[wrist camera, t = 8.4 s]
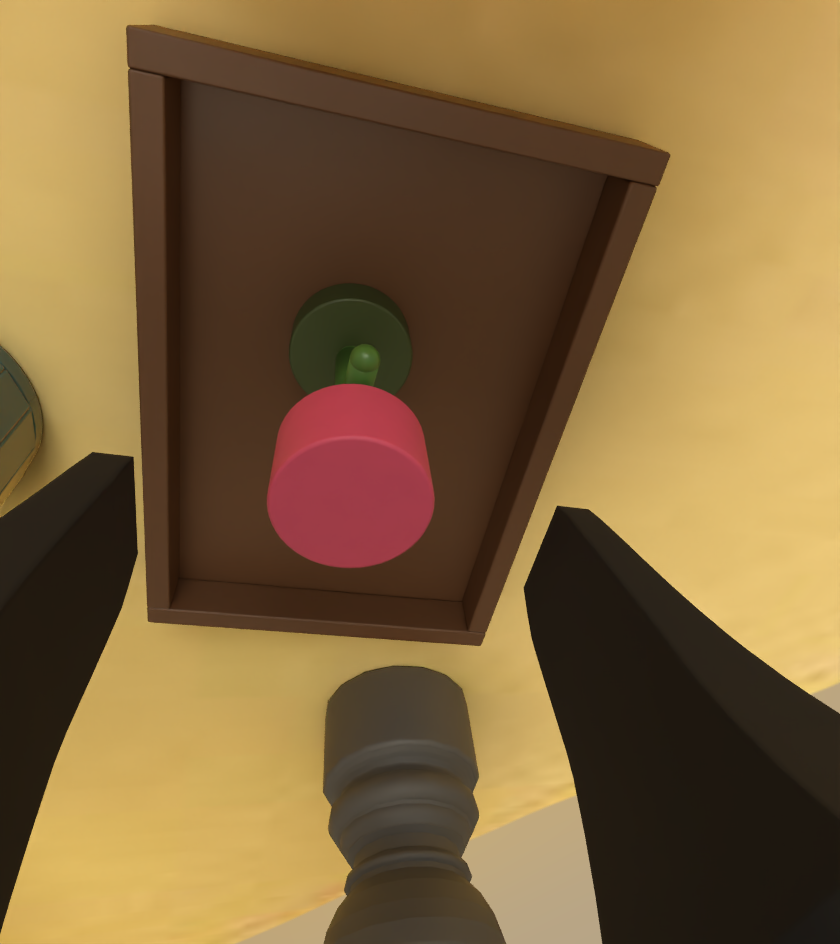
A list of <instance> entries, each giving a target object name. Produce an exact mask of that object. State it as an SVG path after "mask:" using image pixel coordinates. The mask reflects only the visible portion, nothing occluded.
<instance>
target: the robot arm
mask: <svg viewBox="0 0 840 944" xmlns="http://www.w3.org/2000/svg"><path fill="white" fill-rule="evenodd" d="M137 554H138V550H137V527H136V504H135V481H134V458H133V457H130V456H121V455H113V454H104V453H95V452H92V453H91V454H89V455H88V456H86V457H85V458H84V459H82V460H81V461H79V462H78V463H76V464H75V465H74V466H72V467H71V468H69V469H68V470H67V471H65V472H64V473H63V474H61V475H60V476H58V477H57V478H56V479H54V480H53V481H52V482H50V483H49V484H48V485H46V486H45V487H43V488H42V489H41V490H39V491H38V492H37V493H35V494H34V495H32V496H31V497H30V498H28V499H27V500H26V501H24V502H23V503H21V504H20V505H18V506H17V507H15V508H14V509H13V510H11V511H10V512H8V513H7V514H5V515H4V516H3V517H1V518H0V932H1V929H2V926H3V922H4V919H5V915H6V912H7V909H8V905H9V902H10V899H11V895H12V892H13V889H14V886H15V883H16V879H17V876H18V873H19V870H20V867H21V863H22V860H23V857H24V854H25V851H26V848H27V844H28V841H29V838H30V835H31V832H32V828H33V825H34V822H35V819H36V816H37V813H38V810H39V807H40V804H41V801H42V798H43V795H44V792H45V789H46V786H47V783H48V780H49V777H50V774H51V771H52V768H53V765H54V762H55V760H56V757H57V755H58V752H59V750H60V747H61V745H62V742H63V739H64V737H65V734H66V732H67V730H68V728H69V725H70V723H71V721H72V719H73V716H74V714H75V712H76V710H77V708H78V705H79V703H80V701H81V699H82V696H83V694H84V692H85V690H86V687H87V685H88V683H89V681H90V679H91V676H92V674H93V672H94V670H95V667H96V665H97V663H98V661H99V658H100V656H101V654H102V652H103V650H104V647H105V645H106V643H107V640H108V638H109V636H110V634H111V631H112V629H113V627H114V625H115V622H116V620H117V618H118V615H119V613H120V611H121V608H122V605H123V602H124V599H125V595H126V592H127V589H128V586H129V582H130V579H131V575H132V572H133V568H134V565H135V561H136V558H137ZM524 593H525V600H526V607H527V614H528V620H529V625H530V631H531V637H532V641H533V644H534V648H535V651H536V654H537V658H538V661H539V664H540V668H541V671H542V674H543V678H544V681H545V684H546V687H547V691H548V694H549V697H550V700H551V703H552V707H553V710H554V713H555V716H556V720H557V723H558V726H559V729H560V732H561V736H562V739H563V742H564V745H565V748H566V752H567V755H568V759H569V763H570V767H571V771H572V774H573V778H574V783H575V788H576V793H577V798H578V803H579V808H580V813H581V818H582V823H583V828H584V833H585V838H586V844H587V850H588V855H589V861H590V867H591V873H592V878H593V884H594V890H595V896H596V903H597V909H598V917H599V924H600V930H601V937H602V944H840V714H839V713H838V712H836V711H835V710H833V709H832V708H830V707H829V706H827V705H825V704H824V703H822V702H821V701H819V700H818V699H816V698H815V697H813V696H811V695H810V694H808V693H807V692H805V691H804V690H802V689H801V688H800V687H798V686H797V685H795V684H794V683H792V682H791V681H789V680H788V679H786V678H785V677H784V676H782V675H781V674H780V673H778V672H777V671H775V670H774V669H773V668H771V667H770V666H769V665H767V664H766V663H765V662H763V661H762V660H761V659H759V658H758V657H757V656H755V655H754V654H752V653H751V652H750V651H748V650H747V649H746V648H744V647H743V646H742V645H741V644H739V643H738V642H737V641H736V640H734V639H733V638H732V637H731V636H729V635H728V634H727V633H726V632H724V631H723V630H722V629H721V628H720V627H718V626H717V625H716V624H715V623H714V622H713V621H711V620H710V619H709V618H708V617H707V616H705V615H704V614H703V613H702V612H701V611H699V610H698V609H697V608H696V607H695V606H694V605H693V604H691V603H690V602H689V601H688V600H687V599H686V598H685V597H684V596H682V595H681V594H680V593H679V592H678V591H677V590H676V589H675V588H674V587H672V586H671V585H670V584H669V583H668V582H667V581H666V580H665V579H664V578H663V577H662V576H661V575H659V574H658V573H657V572H656V571H655V570H654V569H653V568H652V567H651V566H650V565H649V564H648V563H647V562H646V561H645V560H644V559H642V558H641V557H640V556H639V555H638V554H637V553H636V552H635V551H634V550H633V549H632V548H631V547H630V546H629V545H628V544H627V543H626V542H625V541H624V540H622V539H621V538H620V537H619V536H618V535H617V534H616V533H615V532H614V531H613V530H612V529H611V528H610V527H609V526H607V525H606V524H605V523H604V522H603V521H602V520H601V519H600V518H598V517H597V516H596V515H595V514H594V513H592V512H591V511H590V510H589V509H580V508H571V507H563V506H557V508H556V510H555V512H554V515H553V517H552V520H551V522H550V525H549V527H548V530H547V532H546V535H545V537H544V539H543V542H542V544H541V547H540V549H539V552H538V554H537V557H536V559H535V561H534V564H533V566H532V569H531V571H530V574H529V576H528V579H527V581H526V584H525V586H524Z"/></svg>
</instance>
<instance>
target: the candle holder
mask: <svg viewBox="0 0 840 944" xmlns="http://www.w3.org/2000/svg"><path fill="white" fill-rule="evenodd" d="M478 778H479V773H478V767H477V761H476V756H475V750H474V744H473V738H472V732H471V726H470V721H469V715H468V709H467V704H466V701H465V698H464V694H463V691H462V689H461V688H460V687H459V686H458V685H457V684H456V683H454V682H453V681H452V680H451V679H450V678H449V677H448V676H446V675H444V674H441V673H438V672H435V671H432V670H429V669H426V668H423V667H403V666H392V667H387V668H382V669H378V670H373V671H369V672H365V673H363V674H361V675H359V676H357V677H355V678H354V679H352V680H350V681H348V682H346V683H344V684H342V685H341V686H340V688H339V689H338V690H337V691H336V692H335V694H334V695H333V696H332V697H331V698H330V700H329V701H328V705H327V712H326V719H325V749H324V778H323V793H324V795H325V796H326V798H327V800H328V801H329V803H330V805H331V806H332V808H331V814H330V819H329V825H328V830H329V834H330V836H331V837H332V839H333V841H334V842H335V844H336V845H337V847H338V848H339V850H340V851H341V853H342V854H343V856H344V857H345V859H346V860H347V862H348V864H349V865H350V866H351V868H352V869H353V870H351V872H350V873H349V874H348V876H347V880H346V884H345V888H344V891H345V893H346V895H347V897H346V898H345V900H344V901H343V902H342V903H341V905H340V906H339V907H338V909H337V911H336V913H335V915H334V917H333V919H332V921H331V924H330V926H329V928H328V930H327V932H326V937H325V941H324V944H506V942H505V940H504V937H503V934H502V932H501V929H500V927H499V924H498V922H497V920H496V917H495V914H494V913H493V911H492V909H491V908H490V906H489V905H488V903H487V902H486V900H485V899H484V897H483V896H482V894H481V893H480V892H479V891H478V890H477V889H476V888H475V887H474V886H473V885H472V884H471V883H470V881H471V878H472V876H471V873H470V870H469V867H468V865H467V863H466V862H465V861H464V860H463V859H462V858H461V857H462V855H463V853H464V851H465V848H466V846H467V844H468V841H469V839H470V837H471V835H472V833H473V831H474V828H475V826H476V824H477V821H478V818H479V811H478V807H477V804H476V801H475V799H474V796H473V791H474V788H475V786H476V783H477V781H478Z"/></svg>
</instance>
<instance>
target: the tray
mask: <svg viewBox="0 0 840 944" xmlns="http://www.w3.org/2000/svg"><path fill="white" fill-rule="evenodd" d="M126 35H127V62H128V67H130V69H129V70H128V86H129V113H130V141H131V169H132V197H133V225H134V253H135V281H136V308H137V336H138V364H139V392H140V420H141V448H142V476H143V503H144V531H145V559H146V587H147V606H148V608H147V610H148V621H149V622H154V623H168V624H182V625H196V626H210V627H224V628H238V629H252V630H265V631H279V632H293V633H307V634H321V635H335V636H349V637H363V638H377V639H391V640H405V641H419V642H433V643H447V644H461V645H475V646H480V645H481V644H482V641H483V639H484V636H485V632H486V631H487V628H488V626H489V623H490V621H491V618H492V615H493V613H494V610H495V608H496V605H497V602H498V600H499V597H500V595H501V592H502V590H503V587H504V584H505V582H506V579H507V577H508V574H509V571H510V569H511V566H512V564H513V561H514V558H515V556H516V553H517V551H518V548H519V545H520V543H521V540H522V538H523V535H524V532H525V530H526V527H527V525H528V522H529V519H530V517H531V514H532V512H533V509H534V506H535V504H536V501H537V499H538V496H539V494H540V491H541V488H542V486H543V483H544V481H545V478H546V475H547V473H548V470H549V468H550V465H551V462H552V460H553V457H554V455H555V452H556V449H557V447H558V444H559V442H560V439H561V436H562V434H563V431H564V429H565V426H566V423H567V421H568V418H569V416H570V413H571V411H572V408H573V405H574V403H575V400H576V398H577V395H578V392H579V390H580V387H581V385H582V382H583V379H584V377H585V374H586V372H587V369H588V366H589V364H590V361H591V359H592V356H593V353H594V351H595V348H596V346H597V343H598V340H599V338H600V335H601V333H602V330H603V327H604V325H605V322H606V320H607V317H608V315H609V312H610V309H611V307H612V304H613V302H614V299H615V296H616V294H617V291H618V289H619V286H620V283H621V281H622V278H623V276H624V273H625V270H626V268H627V265H628V263H629V260H630V257H631V255H632V252H633V250H634V247H635V244H636V242H637V239H638V237H639V234H640V231H641V229H642V226H643V224H644V221H645V219H646V216H647V213H648V211H649V208H650V206H651V203H652V200H653V198H654V195H655V193H656V187H655V186H658V185H659V184H660V181H661V179H662V176H663V173H664V171H665V168H666V166H667V163H668V160H669V158H670V154H669V153H668V152H665V151H663V150H661V149H658V148H656V147H653V146H651V145H648V144H646V143H643V142H641V141H639V140H635V139H631V138H626V137H622V136H618V135H614V134H610V133H605V132H601V131H597V130H593V129H589V128H584V127H580V126H576V125H572V124H568V123H563V122H559V121H555V120H551V119H547V118H542V117H538V116H534V115H530V114H526V113H521V112H517V111H513V110H509V109H505V108H500V107H496V106H492V105H488V104H484V103H480V102H475V101H471V100H467V99H463V98H459V97H454V96H450V95H446V94H442V93H438V92H433V91H429V90H425V89H421V88H417V87H412V86H408V85H404V84H400V83H396V82H391V81H387V80H383V79H379V78H375V77H370V76H366V75H362V74H358V73H354V72H349V71H345V70H341V69H337V68H333V67H328V66H324V65H320V64H316V63H312V62H307V61H303V60H299V59H295V58H291V57H286V56H282V55H278V54H274V53H270V52H265V51H261V50H257V49H253V48H249V47H244V46H240V45H236V44H232V43H228V42H223V41H219V40H215V39H211V38H207V37H202V36H198V35H194V34H190V33H186V32H181V31H177V30H173V29H169V28H165V27H160V26H156V25H129V26H127V27H126ZM343 283H354V284H362V285H366V286H369V287H372V288H375V289H377V290H379V291H380V292H382V293H384V294H385V295H387V296H388V297H389V298H390V299H391V300H393V301H394V302H395V303H396V305H397V306H398V307H399V308H400V310H401V312H402V313H403V315H404V317H405V319H406V322H407V325H408V329H409V334H410V339H411V344H412V351H413V359H412V366H411V370H410V373H409V375H408V378H407V380H406V382H405V383H404V385H403V386H402V387H401V389H400V390H399V391H398V392H397V393H396V394H395V395H394V396H395V397H397V398H398V399H400V400H401V401H402V402H403V403H404V404H406V405H407V406H408V407H409V408H410V410H411V411H412V412H413V413H414V415H415V416H416V418H417V419H418V421H419V423H420V425H421V427H422V431H423V434H424V439H425V444H426V450H427V456H428V461H429V467H430V472H431V478H432V484H433V489H434V497H435V501H434V510H433V515H432V518H431V521H430V523H429V525H428V527H427V529H426V531H425V532H424V534H423V535H422V536H421V538H420V539H419V540H418V541H417V542H416V543H415V544H414V545H413V546H412V547H411V548H409V549H408V550H407V551H406V552H404V553H402V554H401V555H399V556H398V557H395V558H393V559H391V560H389V561H386V562H384V563H381V564H377V565H373V566H369V567H362V568H338V567H331V566H327V565H323V564H319V563H316V562H314V561H311V560H309V559H307V558H305V557H303V556H301V555H300V554H298V553H296V552H295V551H294V550H292V549H291V548H290V547H289V546H287V545H286V544H285V542H284V541H283V540H282V539H281V538H280V537H279V535H278V534H277V532H276V531H275V529H274V527H273V525H272V523H271V521H270V518H269V515H268V510H267V493H268V487H269V481H270V476H271V470H272V464H273V459H274V453H275V447H276V442H277V436H278V431H279V429H280V426H281V423H282V422H283V420H284V418H285V416H286V415H287V414H288V412H289V411H290V410H291V409H292V408H293V406H294V405H295V404H296V403H298V402H299V401H300V400H302V399H303V398H304V397H306V396H308V394H307V393H306V392H305V391H304V390H303V389H302V388H301V386H300V385H299V384H298V382H297V381H296V379H295V377H294V375H293V372H292V370H291V366H290V362H289V344H290V339H291V334H292V328H293V324H294V321H295V318H296V316H297V314H298V312H299V310H300V308H301V307H302V306H303V304H304V303H305V302H306V301H307V300H308V299H309V298H310V297H311V296H313V295H314V294H315V293H317V292H319V291H320V290H322V289H324V288H327V287H329V286H333V285H337V284H343Z"/></svg>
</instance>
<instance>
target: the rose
mask: <svg viewBox="0 0 840 944" xmlns="http://www.w3.org/2000/svg"><path fill="white" fill-rule="evenodd" d="M412 359H413V351H412V344H411V339H410V334H409V329H408V325H407V322H406V319H405V317H404V315H403V313H402V312H401V310H400V308H399V307H398V306H397V305H396V303H395V302H394V301H393V300H391V299H390V298H389V297H388V296H387V295H385V294H384V293H382V292H380V291H379V290H377V289H375V288H372V287H369V286H366V285H362V284H354V283H343V284H337V285H333V286H329V287H327V288H324V289H322V290H320V291H319V292H317V293H315V294H314V295H313V296H311V297H310V298H309V299H308V300H307V301H306V302H305V303H304V304H303V306H302V307H301V308H300V310H299V312H298V314H297V316H296V318H295V321H294V324H293V328H292V334H291V339H290V344H289V362H290V366H291V370H292V372H293V375H294V377H295V379H296V381H297V382H298V384H299V385H300V386H301V388H302V389H303V390H304V391H305V392H306V393H307V394H308V396H306V397H304V398H303V399H302V400H300V401H299V402H298V403H296V404H295V405H294V406H293V408H292V409H291V410H290V411H289V412H288V414H287V415H286V416H285V418H284V420H283V422H282V423H281V426H280V429H279V431H278V436H277V442H276V447H275V453H274V459H273V464H272V470H271V476H270V481H269V487H268V493H267V510H268V515H269V518H270V521H271V523H272V525H273V527H274V529H275V531H276V532H277V534H278V535H279V537H280V538H281V539H282V540H283V541H284V542H285V544H286V545H287V546H289V547H290V548H291V549H292V550H294V551H295V552H296V553H298V554H300V555H301V556H303V557H305V558H307V559H309V560H311V561H314V562H316V563H319V564H323V565H327V566H331V567H338V568H362V567H369V566H373V565H377V564H381V563H384V562H386V561H389V560H391V559H393V558H395V557H398V556H399V555H401V554H402V553H404V552H406V551H407V550H408V549H409V548H411V547H412V546H413V545H414V544H415V543H416V542H417V541H418V540H419V539H420V538H421V536H422V535H423V534H424V532H425V531H426V529H427V527H428V525H429V523H430V521H431V518H432V515H433V510H434V501H435V497H434V489H433V484H432V478H431V472H430V467H429V461H428V456H427V450H426V444H425V439H424V434H423V431H422V427H421V425H420V423H419V421H418V419H417V418H416V416H415V415H414V413H413V412H412V411H411V410H410V408H409V407H408V406H407V405H406V404H404V403H403V402H402V401H401V400H400V399H398V398H397V397H395V396H394V395H395V394H396V393H397V392H398V391H399V390H400V389H401V387H402V386H403V385H404V383H405V382H406V380H407V378H408V375H409V373H410V370H411V366H412Z"/></svg>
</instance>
